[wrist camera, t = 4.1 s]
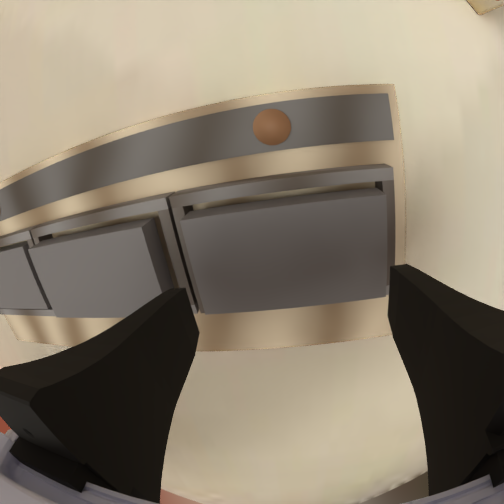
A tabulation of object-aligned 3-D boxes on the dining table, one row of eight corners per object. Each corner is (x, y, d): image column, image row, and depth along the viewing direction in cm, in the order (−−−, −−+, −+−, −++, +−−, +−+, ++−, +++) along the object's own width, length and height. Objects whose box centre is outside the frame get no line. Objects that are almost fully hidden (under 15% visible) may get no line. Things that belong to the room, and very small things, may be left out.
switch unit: (23, 333, 25) (10, 347, 23) (-29, 201, 19) (-48, 209, 17) (393, 322, 19) (404, 347, 17) (387, 86, 13) (403, 81, 11)
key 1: (212, 299, 17) (205, 314, 15) (189, 211, 15) (179, 220, 13) (378, 281, 15) (385, 296, 14) (376, 187, 13) (386, 194, 12)
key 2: (3, 300, 21) (-6, 308, 20) (-17, 252, 19) (-27, 259, 18) (59, 298, 20) (48, 308, 18) (35, 238, 18) (22, 246, 17)
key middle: (67, 305, 18) (56, 317, 17) (42, 240, 17) (27, 249, 15) (178, 301, 17) (170, 316, 16) (153, 217, 15) (141, 227, 14)
